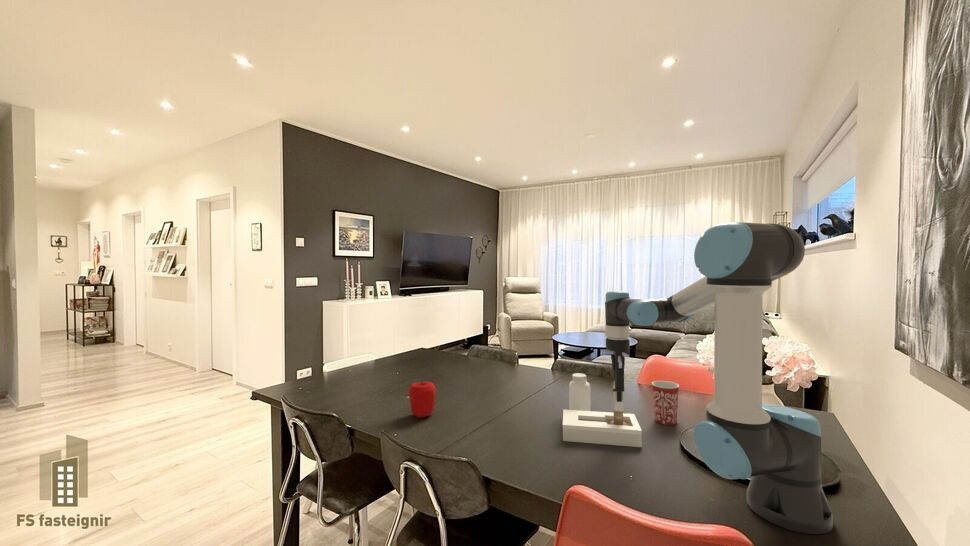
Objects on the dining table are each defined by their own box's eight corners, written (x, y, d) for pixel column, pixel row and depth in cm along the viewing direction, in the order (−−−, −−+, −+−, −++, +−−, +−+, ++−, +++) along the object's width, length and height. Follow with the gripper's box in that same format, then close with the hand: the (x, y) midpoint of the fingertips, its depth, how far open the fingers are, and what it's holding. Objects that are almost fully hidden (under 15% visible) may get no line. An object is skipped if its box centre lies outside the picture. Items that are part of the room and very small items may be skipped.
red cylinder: (428, 422, 139) (428, 385, 139) (404, 419, 142) (403, 383, 142) (440, 412, 149) (440, 377, 149) (417, 409, 152) (417, 375, 152)
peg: (628, 435, 122) (628, 384, 122) (610, 434, 123) (610, 383, 123) (626, 428, 128) (625, 379, 128) (608, 427, 129) (608, 378, 129)
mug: (677, 428, 131) (676, 389, 131) (649, 422, 137) (649, 385, 137) (683, 417, 141) (683, 380, 141) (657, 411, 147) (657, 377, 147)
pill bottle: (566, 415, 144) (566, 376, 144) (572, 408, 151) (571, 371, 151) (587, 419, 140) (587, 378, 140) (592, 412, 147) (592, 373, 147)
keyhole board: (641, 447, 117) (641, 430, 117) (562, 440, 123) (562, 424, 123) (634, 429, 131) (634, 414, 131) (563, 423, 136) (563, 409, 136)
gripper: (633, 342, 117) (634, 418, 117) (626, 334, 132) (626, 401, 133) (608, 342, 118) (608, 417, 119) (603, 333, 134) (604, 399, 134)
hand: (618, 408), depth 126 cm, fingers closed on peg, 3 cm apart
